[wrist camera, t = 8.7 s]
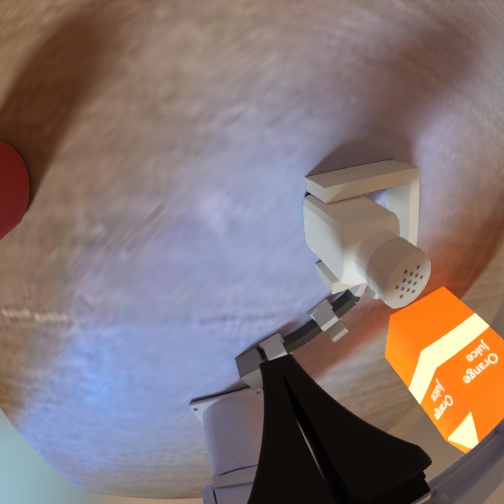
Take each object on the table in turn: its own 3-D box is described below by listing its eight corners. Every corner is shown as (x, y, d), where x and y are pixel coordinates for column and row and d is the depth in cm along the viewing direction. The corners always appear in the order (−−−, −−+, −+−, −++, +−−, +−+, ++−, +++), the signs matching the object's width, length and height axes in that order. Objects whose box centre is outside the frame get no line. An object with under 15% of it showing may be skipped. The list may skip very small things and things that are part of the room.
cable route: (379, 272, 24) (394, 285, 22) (251, 373, 26) (257, 391, 24) (368, 251, 23) (384, 264, 21) (231, 361, 25) (236, 380, 23)
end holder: (393, 246, 23) (414, 261, 21) (316, 273, 23) (332, 294, 20) (393, 159, 20) (419, 167, 17) (304, 177, 19) (324, 188, 16)
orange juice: (389, 315, 28) (501, 450, 10) (443, 285, 28) (551, 389, 11) (384, 357, 32) (466, 474, 14) (433, 328, 32) (517, 425, 15)
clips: (381, 278, 25) (394, 290, 23) (281, 364, 27) (287, 380, 25) (362, 251, 23) (377, 263, 21) (252, 347, 25) (258, 365, 23)
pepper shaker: (303, 245, 21) (372, 326, 13) (298, 194, 19) (382, 256, 11) (348, 233, 22) (428, 301, 13) (348, 185, 20) (442, 236, 11)
